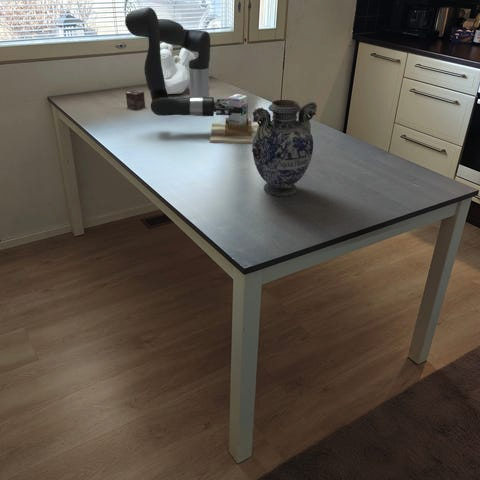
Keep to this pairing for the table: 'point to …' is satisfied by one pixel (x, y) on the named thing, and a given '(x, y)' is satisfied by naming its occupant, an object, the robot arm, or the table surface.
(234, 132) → the socket board
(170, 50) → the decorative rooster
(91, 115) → the table surface
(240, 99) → the syrup box
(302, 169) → the decorative vase
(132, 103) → the box
